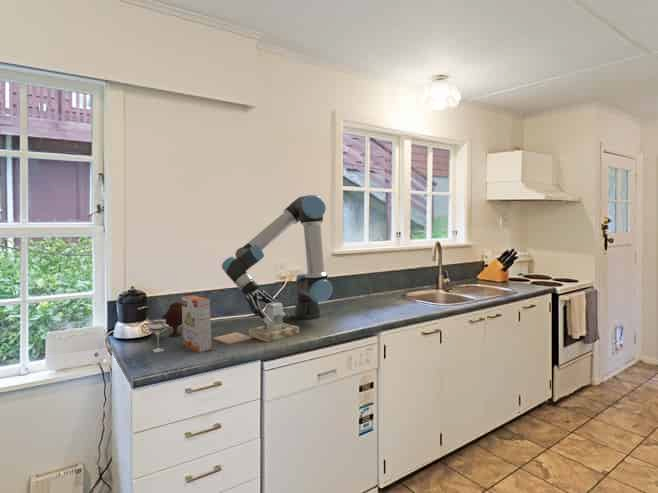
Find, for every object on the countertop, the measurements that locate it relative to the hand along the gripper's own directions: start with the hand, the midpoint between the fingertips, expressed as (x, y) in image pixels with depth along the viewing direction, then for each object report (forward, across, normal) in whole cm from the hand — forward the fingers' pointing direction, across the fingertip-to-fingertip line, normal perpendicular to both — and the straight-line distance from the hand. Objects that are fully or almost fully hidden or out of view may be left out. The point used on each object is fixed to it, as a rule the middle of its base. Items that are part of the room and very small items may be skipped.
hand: (276, 319), depth 188 cm
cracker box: (-11, +28, -21) cm, 37 cm away
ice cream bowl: (-26, +15, -36) cm, 47 cm away
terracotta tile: (-6, +12, -16) cm, 21 cm away
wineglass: (-20, +35, -30) cm, 51 cm away
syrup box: (+4, 0, -6) cm, 7 cm away
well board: (+4, 0, -6) cm, 7 cm away
